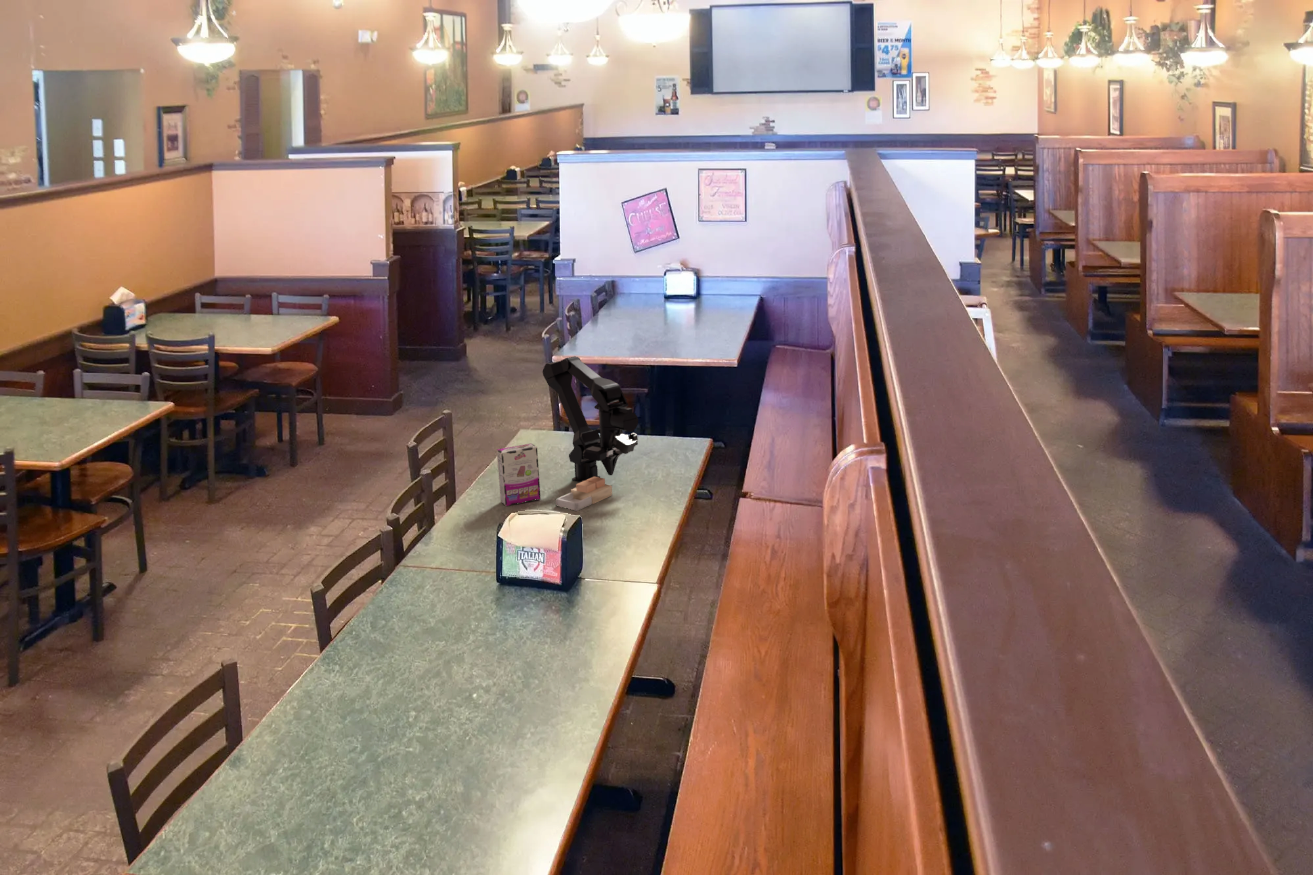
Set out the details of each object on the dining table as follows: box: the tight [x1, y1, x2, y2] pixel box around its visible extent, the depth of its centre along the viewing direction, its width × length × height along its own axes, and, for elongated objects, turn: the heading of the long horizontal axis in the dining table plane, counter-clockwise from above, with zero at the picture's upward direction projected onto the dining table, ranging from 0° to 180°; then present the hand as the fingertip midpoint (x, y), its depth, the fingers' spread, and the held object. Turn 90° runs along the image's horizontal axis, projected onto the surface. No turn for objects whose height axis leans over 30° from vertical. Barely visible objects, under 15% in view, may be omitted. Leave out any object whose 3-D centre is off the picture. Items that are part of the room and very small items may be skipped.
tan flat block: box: [570, 483, 613, 505], centre depth 338 cm, size 8×9×3 cm
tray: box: [555, 491, 593, 512], centre depth 332 cm, size 8×7×2 cm
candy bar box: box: [496, 443, 542, 507], centre depth 334 cm, size 11×5×16 cm, turn 117°
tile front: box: [575, 481, 596, 493], centre depth 335 cm, size 4×4×2 cm
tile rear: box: [586, 477, 606, 489], centre depth 339 cm, size 4×4×2 cm
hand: (610, 474), depth 345 cm, fingers closed
